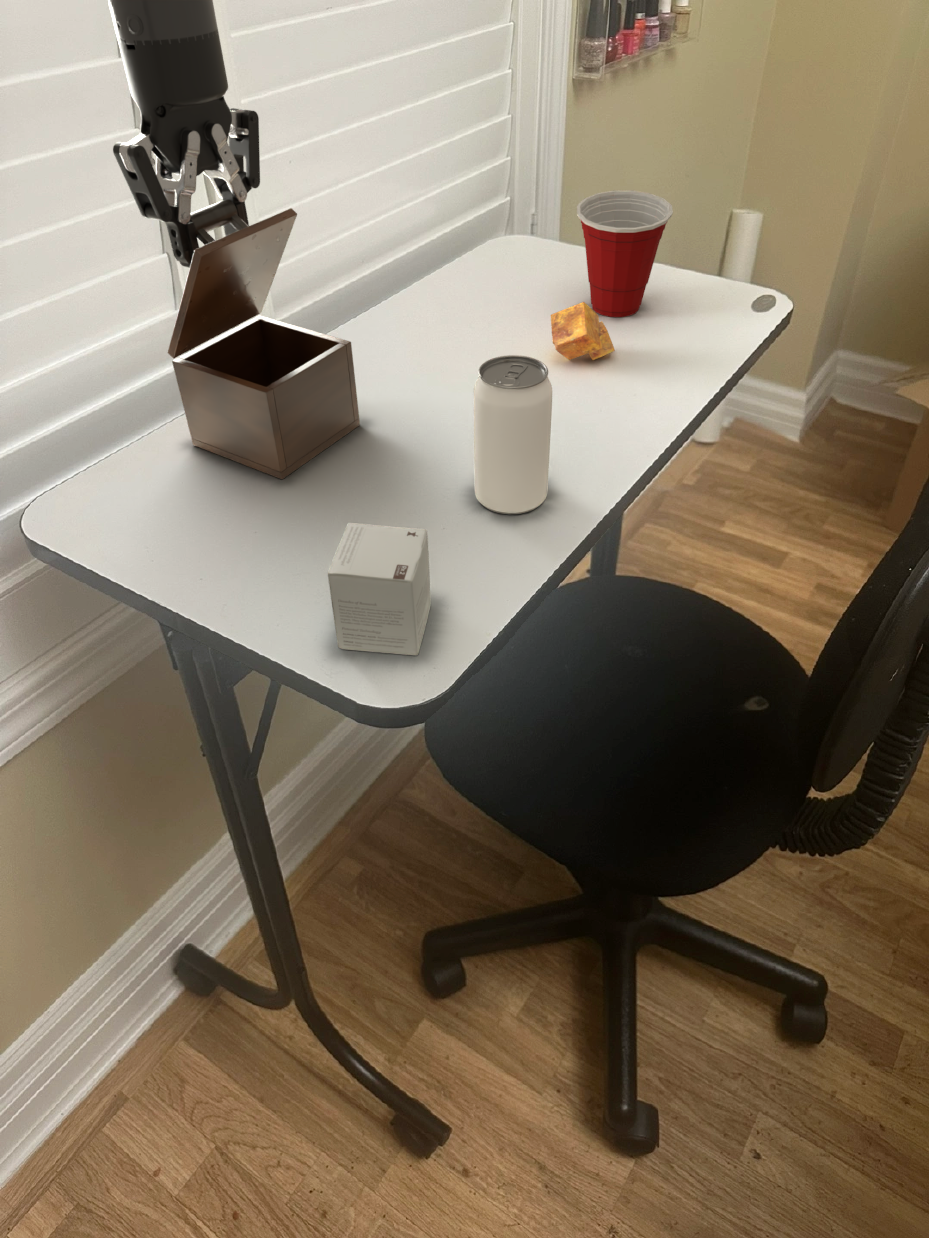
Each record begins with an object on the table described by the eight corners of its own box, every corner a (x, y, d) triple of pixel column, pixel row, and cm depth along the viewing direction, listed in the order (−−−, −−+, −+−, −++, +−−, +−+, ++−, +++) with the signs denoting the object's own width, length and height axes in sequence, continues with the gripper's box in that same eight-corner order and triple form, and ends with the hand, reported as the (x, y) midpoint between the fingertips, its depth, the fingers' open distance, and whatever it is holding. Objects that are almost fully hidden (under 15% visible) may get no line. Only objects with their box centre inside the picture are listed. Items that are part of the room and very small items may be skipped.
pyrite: (578, 341, 103) (581, 373, 102) (549, 313, 98) (551, 347, 97) (618, 325, 101) (621, 358, 100) (591, 296, 95) (593, 331, 94)
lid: (297, 214, 79) (255, 172, 79) (201, 256, 72) (154, 210, 72) (261, 313, 89) (223, 276, 89) (173, 359, 82) (132, 319, 82)
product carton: (356, 597, 71) (346, 520, 66) (432, 603, 70) (428, 526, 65) (337, 651, 66) (325, 572, 61) (419, 658, 65) (413, 579, 60)
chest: (360, 425, 90) (351, 341, 84) (282, 479, 83) (266, 392, 77) (273, 395, 95) (259, 315, 89) (192, 445, 88) (171, 360, 82)
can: (464, 508, 79) (461, 383, 71) (488, 470, 84) (488, 348, 76) (535, 522, 77) (540, 395, 69) (555, 483, 82) (563, 359, 74)
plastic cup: (561, 322, 107) (567, 217, 99) (579, 287, 115) (586, 187, 107) (653, 332, 105) (666, 225, 97) (665, 295, 113) (679, 193, 104)
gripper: (201, 12, 75) (242, 226, 86) (56, 40, 66) (122, 275, 77) (268, 15, 71) (302, 238, 82) (124, 46, 62) (183, 291, 73)
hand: (215, 255), depth 79 cm, fingers closed on lid, 5 cm apart
